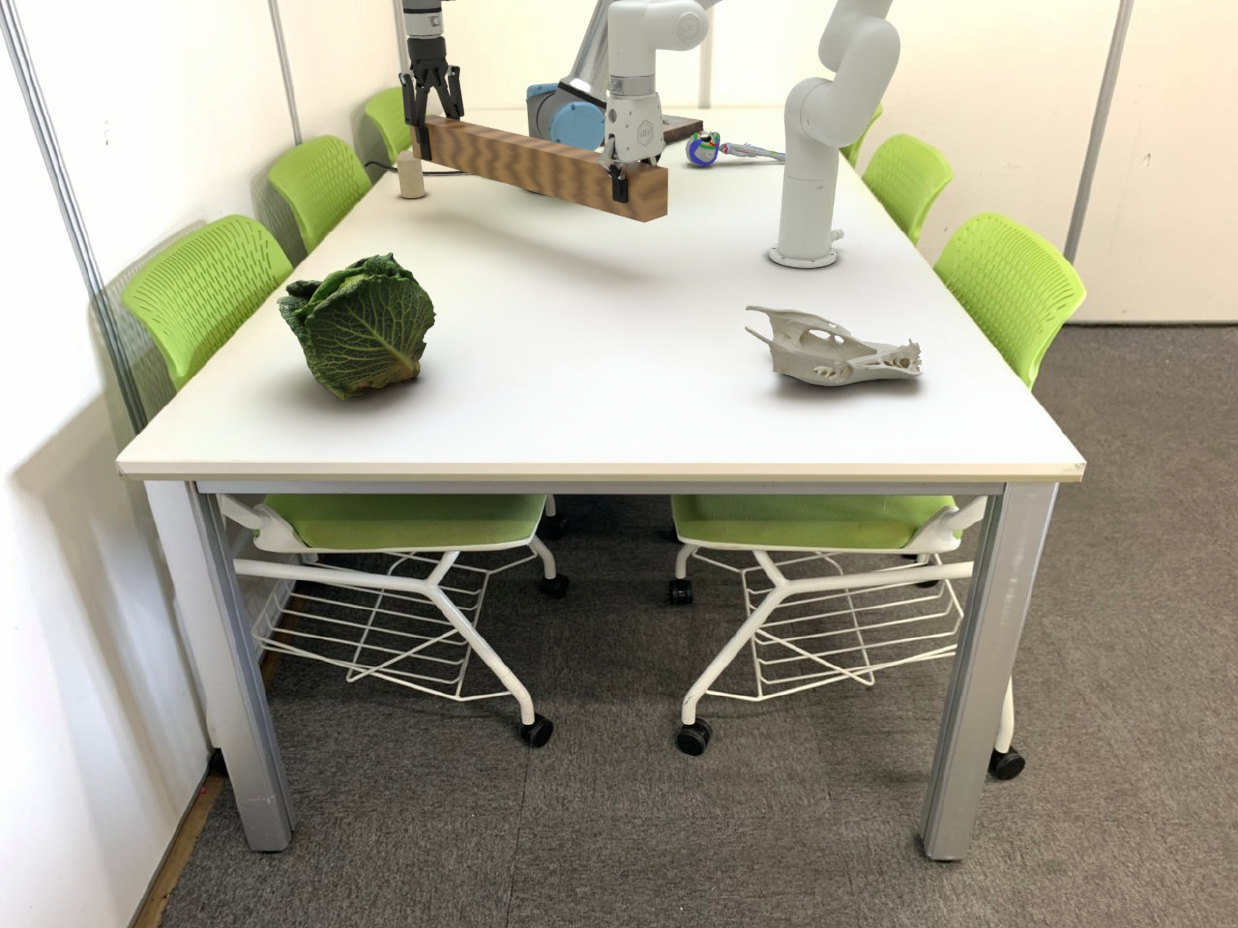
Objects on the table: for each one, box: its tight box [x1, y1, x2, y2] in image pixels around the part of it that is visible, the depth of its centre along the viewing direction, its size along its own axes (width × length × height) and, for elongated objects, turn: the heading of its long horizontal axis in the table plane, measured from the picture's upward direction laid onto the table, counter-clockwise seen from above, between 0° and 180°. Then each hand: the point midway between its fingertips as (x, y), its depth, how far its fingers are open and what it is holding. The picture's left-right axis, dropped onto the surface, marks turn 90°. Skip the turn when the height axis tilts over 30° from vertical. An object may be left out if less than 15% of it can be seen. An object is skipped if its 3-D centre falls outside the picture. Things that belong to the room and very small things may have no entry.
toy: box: [684, 130, 785, 167], centre depth 229 cm, size 10×8×30 cm
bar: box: [408, 113, 669, 224], centre depth 171 cm, size 67×6×8 cm, turn 46°
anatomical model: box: [744, 304, 924, 387], centre depth 126 cm, size 15×9×25 cm
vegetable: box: [276, 251, 438, 401], centre depth 124 cm, size 20×19×20 cm
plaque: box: [600, 113, 705, 146], centre depth 257 cm, size 30×7×30 cm
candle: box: [395, 149, 426, 199], centre depth 207 cm, size 6×6×10 cm
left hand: (439, 156), depth 189 cm, fingers closed on bar, 6 cm apart
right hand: (633, 196), depth 155 cm, fingers closed on bar, 6 cm apart
